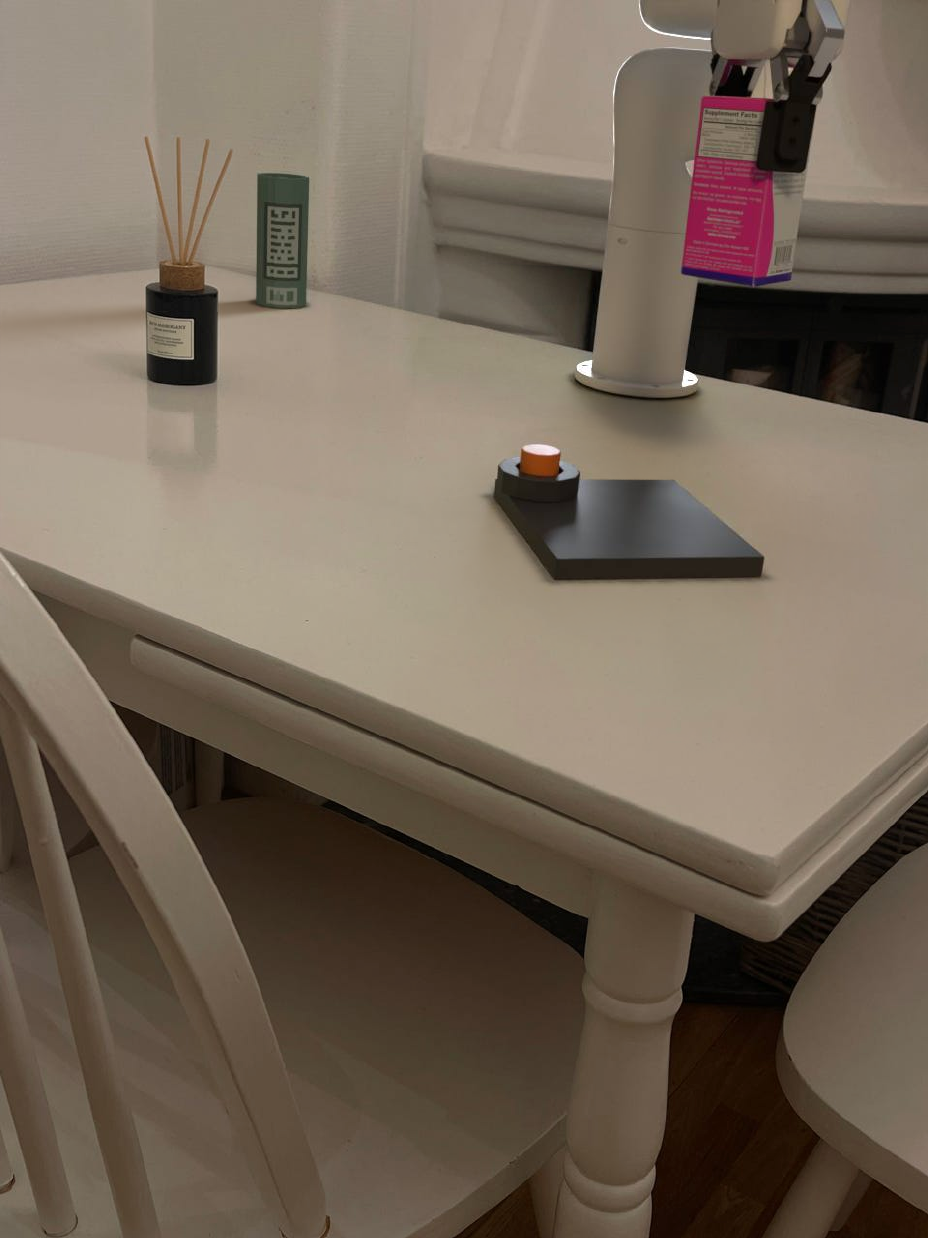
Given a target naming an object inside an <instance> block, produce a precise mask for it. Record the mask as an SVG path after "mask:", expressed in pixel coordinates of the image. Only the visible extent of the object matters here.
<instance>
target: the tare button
mask: <svg viewBox="0 0 928 1238" xmlns="http://www.w3.org/2000/svg"><path fill="white" fill-rule="evenodd" d="M561 454H562V452H561V450H560V449H559V448H557V447H555V446H552V445H547V444H540V443H539V444H536V443H533V444H525V445H523V446H521V449H520V457H521V459H520V469H519V471H522V472H524V473H527V474H532V475H538V476H553V475H558V474H559V465H560V461H561V456H562V455H561Z"/></svg>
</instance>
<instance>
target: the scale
mask: <svg viewBox="0 0 928 1238" xmlns="http://www.w3.org/2000/svg"><path fill="white" fill-rule="evenodd" d="M520 459H521V456H515V457H514V456H513V457H510V458H505V459H503V460H502V461H501V462H500V463H498V465H497V475H496V479H494V489H493V498H494V500H496V502H497V503H498V505H499V506H500V508H501V509H502V510H503V512H504V513H505V514H506V516H507V517H508V519H509V520H510V521H511V523H513V525H514V526H515V528H516V529H517V530H518V532H519V533H520V534H521V535H522V537H523V539H524V540H525V541H526V542H527V544H528V545H529V547H530V548H531V550H532V551H533V552H534V554H535V555H536V556H537V557H538V559H539V560H540V561H541V563H542V564H543V566H544V567H545V568H546V570H547V571H548V572H549V574H550V575H551V577H552V578H553V579H554V580H558V581H559V580H612V579H613V580H620V579H621V580H625V579H627V580H629V579H630V580H631V579H690V578H691V579H697V578H702V579H703V578H761V577H762V573H763V568H764V563H765V556H764V555H763V554H761V552H759V551H758V550H757V549H756V548H754V547H753V546H752V545H751V544H750V543H749V542H747V541H746V540H745V539H744V538H743V537H742V536H740V534H738V533H737V532H736V531H735V530H734V529H733V528H731V527H730V526H729V525H727V524H726V523H725V522H724V521H723V520H722V519H720V518H719V517H718V516H717V515H716V514H715V513H713V512H712V511H711V510H710V509H709V508H708V507H707V506H705V505H704V504H703V503H702V502H701V501H699V500H698V499H697V498H696V497H695V496H694V495H693V494H691V493H690V492H689V491H688V490H687V489H685V488H684V487H683V485H680V483H678V481H676V480H675V479H609V478H607V479H604V478H603V479H601V478H600V479H593V478H592V479H587V478H585V479H584V478H583V479H581V478H580V477H581V471H580V470H579V469H578V468H577V467H576V466H575V465H574V464H571V463H568V462H566V461H562V460H560V465H559V474H558V475H553V476H538V475H532V474H527V473H524V472H522V471H519V469H520Z"/></svg>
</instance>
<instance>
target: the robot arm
mask: <svg viewBox="0 0 928 1238" xmlns="http://www.w3.org/2000/svg"><path fill="white" fill-rule="evenodd" d="M850 4H851V0H638V7H639V14H640V16H641V19H642V22H643V23H644V25H645V26H646V27H647V28H648V29H650V30H651V31H653V32H656V33H659V34H662V35H666V36H671V37H680V38H688V39H697V40H698V39H700V40H709V41H710V48H711V50H710V49H709V50H706V49H696V48H685V47H684V48H683V47H652V48H648V49H644V50H640V51H638V52H636V53H634V54H632V55H631V56H629V57H628V58H627V59H626V60H625V61H624V62H623V64H621V66H620V68H619V70H618V71H617V75H616V77H615V81H614V87H613V93H612V95H613V96H612V119H613V121H612V124H613V126H612V127H613V128H612V129H613V162H612V163H613V165H612V181H611V189H610V190H611V192H610V201H609V209H608V218H607V231H606V239H605V247H604V256H603V257H604V258H603V264H602V273H601V280H600V290H599V297H598V307H597V315H596V323H595V331H594V332H595V333H594V339H593V340H594V341H593V349H592V358H591V360H585V361H583V362H580V363H578V364H577V365H576V366H575V371H574V377H575V379H576V381H578V382H579V383H580V384H582V385H585V386H587V387H588V388H591V389H595V390H599V391H602V392H606V393H611V394H616V395H621V396H630V397H636V398H637V397H638V398H652V399H653V398H654V399H663V398H664V399H669V398H670V399H672V398H681V397H687V396H690V395H692V394H694V393H695V392H697V390H698V388H699V387H698V386H699V379H698V377H697V376H696V375H695V374H693V373H692V372H690V371H687V370H686V363H687V357H688V349H689V342H690V335H691V329H692V323H693V315H694V308H695V302H696V297H697V296H696V295H697V287H698V281H699V278H698V277H693V276H687V275H683V274H682V273H681V268H682V260H683V252H684V243H685V235H686V227H687V218H688V210H689V202H690V193H691V184H692V177H693V175H691V173H690V171H689V169H688V167H687V163H688V162H691V161H694V159H695V151H696V143H697V135H698V126H699V118H700V109H701V99H702V97H703V96H731V97H751V98H768V99H774V101H775V102H769V101H766V104H765V110H764V116H763V123H762V129H761V135H760V142H759V148H758V154H757V161H756V167H757V168H758V169H759V170H762V171H774V172H788V173H802V172H803V171H804V170H805V169H806V164H807V158H808V153H809V147H810V141H811V135H812V129H813V130H814V128H813V124H814V125H815V122H814V118H815V119H816V115H815V112H816V113H817V109H816V106H817V107H818V105H820V103H821V101H822V99H823V94H824V87H823V85H824V83H825V82H826V80H827V79H828V77H829V75H830V73H831V72H832V69H833V65H832V63H833V62H835V60H836V59H837V58H838V57H839V56H840V55H841V53H842V50H843V47H844V42H845V38H846V37H845V36H846V31H847V25H848V19H849V11H850V6H851V5H850ZM812 136H813V135H812ZM811 142H812V141H811Z"/></svg>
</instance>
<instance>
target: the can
mask: <svg viewBox="0 0 928 1238" xmlns="http://www.w3.org/2000/svg"><path fill="white" fill-rule="evenodd" d="M256 177H257V181H256V185H257V186H256V188H257V189H256V272H255V273H256V276H255V277H256V279H255V281H256V282H255V283H256V287H255V290H256V292H255V297H256V298H255V305H259V306H262V307H266V308H273V309H297V308H298V309H300V308H304V307H307V289H308V287H307V286H308V252H309V251H308V246H309V209H310V208H309V206H310V205H309V203H310V176H306V175H301V174H292V173H278V172H274V173H273V172H260V173H259V172H258V173H257V175H256Z"/></svg>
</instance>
